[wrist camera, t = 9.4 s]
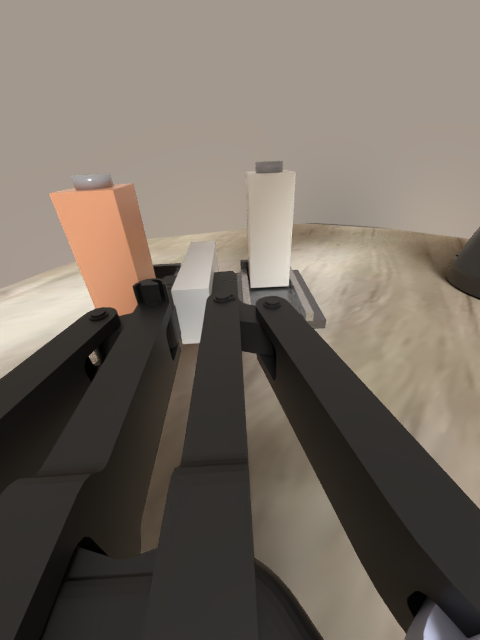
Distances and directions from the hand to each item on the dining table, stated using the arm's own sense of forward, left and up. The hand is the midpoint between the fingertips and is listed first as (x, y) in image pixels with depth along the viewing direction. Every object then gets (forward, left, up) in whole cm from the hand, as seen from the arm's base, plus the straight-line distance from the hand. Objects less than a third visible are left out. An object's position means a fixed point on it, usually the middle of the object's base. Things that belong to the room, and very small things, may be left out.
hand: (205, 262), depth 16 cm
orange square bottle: (+10, -10, -9) cm, 17 cm away
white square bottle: (-6, -18, -9) cm, 21 cm away
